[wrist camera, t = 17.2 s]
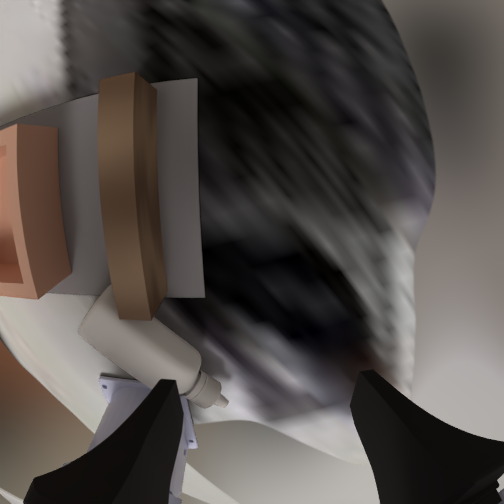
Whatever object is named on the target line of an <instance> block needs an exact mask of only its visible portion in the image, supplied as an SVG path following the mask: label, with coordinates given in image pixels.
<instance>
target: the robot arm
mask: <svg viewBox="0 0 504 504" xmlns="http://www.w3.org/2000/svg"><path fill="white" fill-rule="evenodd" d="M98 381H99V384H100V386H101V389H102V391H103V393H104V396H105V398H106V400H107V403H108V406H107V408H106V411H105V413H104V415H103V417H102V419H101V422H100V424H99V426H98V428H97V430H96V433H95V435H94V437H93V440H92V442H91V444H90V446H89V449H88V451H87V453H86V454H84V455H83V456H81V457H80V458H78V459H76V460H75V461H72V462H71V463H64V464H63V466H62V467H61V468H59V469H57V470H54V471H52V472H49V473H47V474H44V475H41V476H38V477H35V478H34V479H33V481H32V483H31V485H30V487H29V490H28V492H27V494H26V497H25V499H24V501H23V503H24V504H181V503H182V500H181V499H179V498H178V497H179V496H180V494H181V491H182V485H183V478H184V471H185V464H186V458H187V451H188V448H190V449H195V448H197V447H198V443H197V439H196V435H195V431H194V427H193V423H192V419H191V414H190V410H189V406H188V401H187V398H185V397H183V396H182V394H179V391H178V387H177V382H176V380H172V379H160V380H159V381H158V382H157V384H156V385H155V386H154V388H153V389H151V388H149V387H148V386H146V385H145V384H143V383H141V382H140V381H137V380H128V379H120V378H112V377H105V376H101V377H100V378H99V380H98ZM105 385H106V386H105ZM350 408H351V412H352V416H353V420H354V424H355V427H356V430H357V432H358V435H359V437H360V440H361V442H362V445H363V447H364V449H365V452H366V454H367V457H368V459H369V462H370V464H371V467H372V470H373V473H374V477H375V481H376V485H377V490H378V494H379V499H380V504H504V489H503V490H501V491H500V492H499V493H498V492H497V490H496V488H498V487H499V483H498V481H497V480H498V479H499V478H500V477H501V476H502V474H503V473H504V442H503V441H497V440H492V439H487V438H483V437H480V436H476V435H473V434H470V433H467V432H465V431H462V430H460V429H458V428H455V427H453V426H451V425H449V424H447V423H445V422H443V421H441V420H439V419H438V418H436V417H434V416H433V415H431V414H429V413H428V412H426V411H425V410H423V409H422V408H420V407H419V406H417V405H416V404H415V403H413V402H412V401H411V400H409V399H408V398H407V397H405V396H404V395H403V394H402V393H400V392H399V391H398V390H397V389H396V388H394V387H393V386H392V385H391V384H390V383H388V382H387V381H386V380H385V379H384V378H382V377H381V376H380V375H379V374H378V373H377V372H375V371H374V370H373V369H372V370H366V371H360V372H359V374H358V378H357V382H356V386H355V389H354V393H353V396H352V400H351V403H350Z"/></svg>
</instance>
